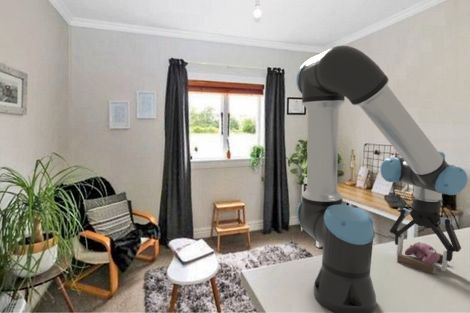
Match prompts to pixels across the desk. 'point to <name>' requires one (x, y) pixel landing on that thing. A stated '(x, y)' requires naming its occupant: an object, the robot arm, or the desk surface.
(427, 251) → the video game controller
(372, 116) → the robot arm
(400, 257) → the dock
